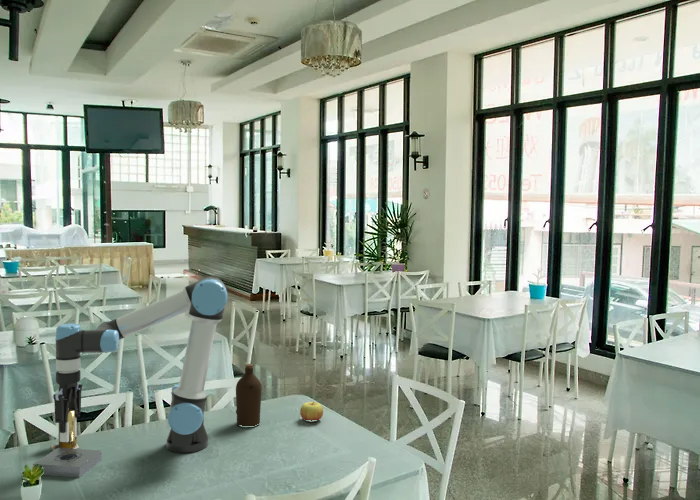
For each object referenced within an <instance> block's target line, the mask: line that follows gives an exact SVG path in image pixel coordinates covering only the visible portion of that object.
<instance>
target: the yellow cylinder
mask: <svg viewBox="0 0 700 500" xmlns="http://www.w3.org/2000/svg"><path fill="white" fill-rule="evenodd" d="M67 422H69V441H68V442H72V441H74V440H75V410H73V409H69V408H68V418H67ZM68 442H64V443H68Z"/></svg>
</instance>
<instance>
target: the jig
mask: <svg viewBox="0 0 700 500" xmlns="http://www.w3.org/2000/svg"><path fill="white" fill-rule="evenodd" d="M102 454H103V451H102V450H98V449H83V448H77V449H72V448H57V449H55V450H54V451H53V450H52V451H51V452H48V453H47V454H46V455H45V456H43V457H42V458H39V460H37V461H35V462H33V464H32V465H33V466H34V465H36V464H39V465H41V466H42V467H43V468H44V474H43V475H42V476H50V477H51V476H53V477H66V478H81V477H82V476H83V475H84V474H86V473H87V472H89V471H90V470H91V469H93V468H94V467H96V465H98V464H99V463H100V462H102ZM33 466H32V467H33Z"/></svg>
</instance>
